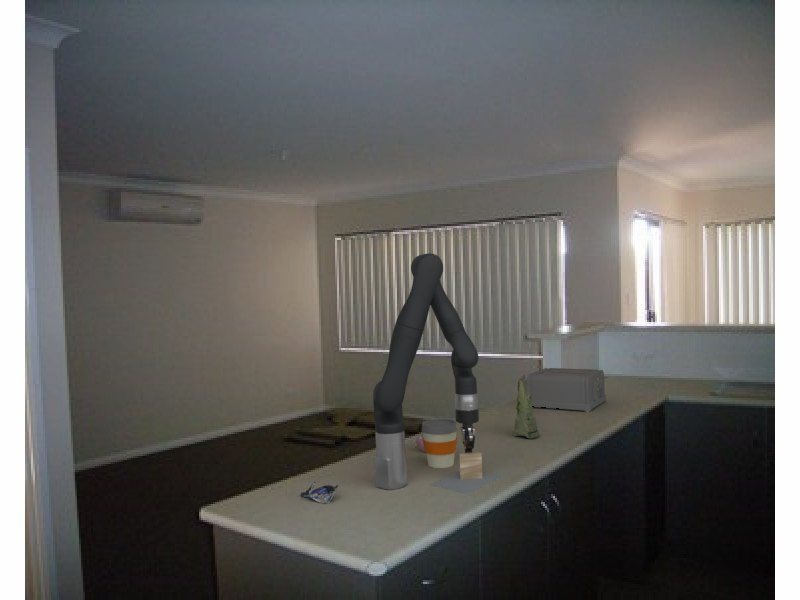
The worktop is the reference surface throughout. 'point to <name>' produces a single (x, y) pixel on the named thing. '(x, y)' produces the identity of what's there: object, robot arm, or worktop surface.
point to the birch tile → (470, 465)
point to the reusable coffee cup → (439, 442)
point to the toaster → (567, 388)
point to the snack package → (320, 493)
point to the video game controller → (420, 442)
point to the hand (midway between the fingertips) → (468, 460)
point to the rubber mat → (465, 482)
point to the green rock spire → (525, 412)
